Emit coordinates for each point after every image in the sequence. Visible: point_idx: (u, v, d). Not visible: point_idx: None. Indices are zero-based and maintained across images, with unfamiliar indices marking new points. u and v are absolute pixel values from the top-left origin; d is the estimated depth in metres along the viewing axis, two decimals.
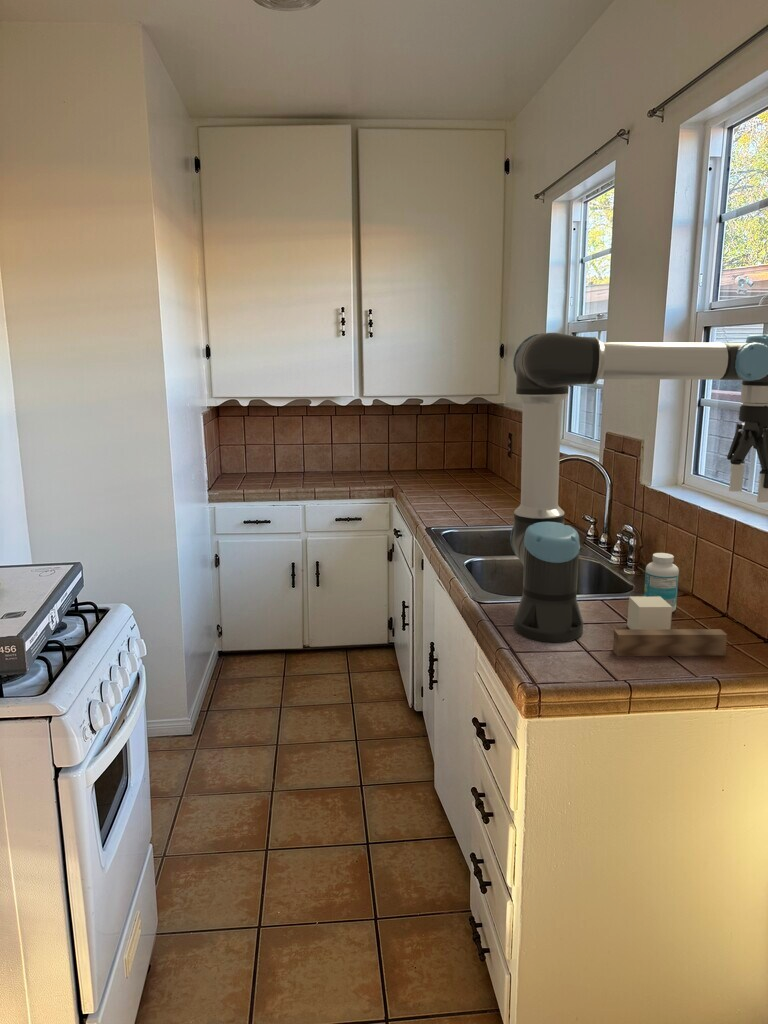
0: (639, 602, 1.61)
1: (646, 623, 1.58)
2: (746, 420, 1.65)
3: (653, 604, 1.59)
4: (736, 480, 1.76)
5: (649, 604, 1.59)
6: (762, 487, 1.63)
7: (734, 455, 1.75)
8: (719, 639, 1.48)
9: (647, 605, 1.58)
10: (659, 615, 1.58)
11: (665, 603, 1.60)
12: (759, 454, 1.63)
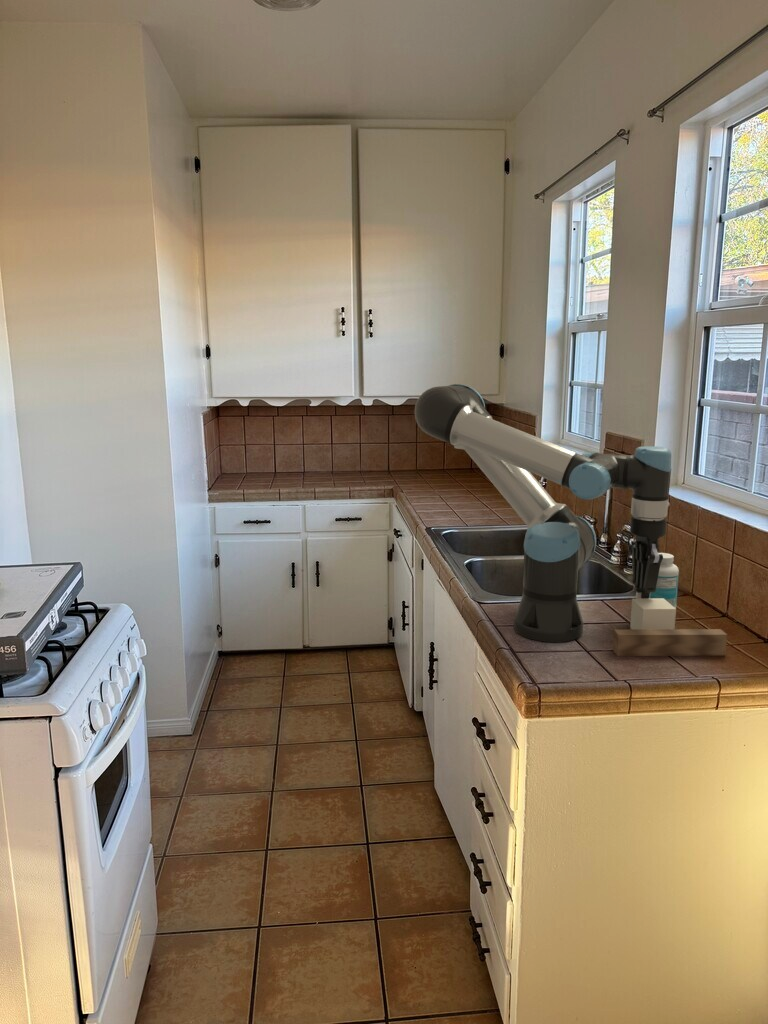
0: (643, 604, 1.59)
1: (649, 625, 1.57)
2: (635, 534, 1.60)
3: (657, 606, 1.57)
4: None
5: (652, 606, 1.58)
6: None
7: (636, 577, 1.66)
8: (719, 639, 1.48)
9: (650, 607, 1.57)
10: (663, 617, 1.56)
11: (669, 605, 1.58)
12: (641, 571, 1.63)
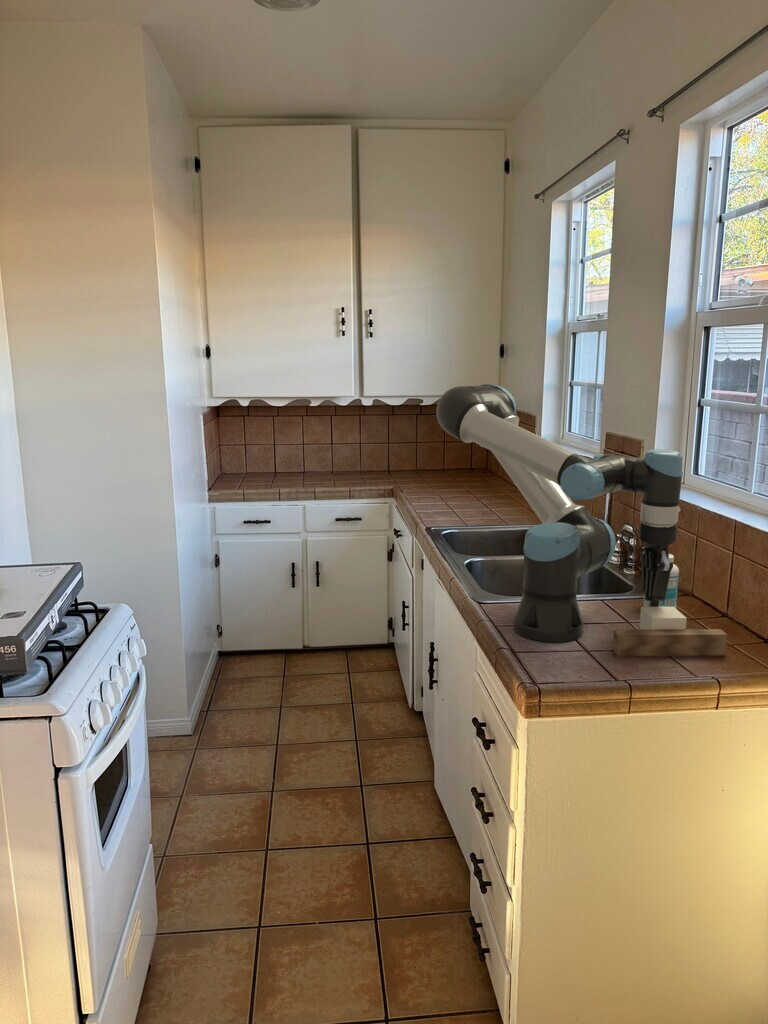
0: (652, 612, 1.54)
1: None
2: (644, 540, 1.55)
3: (667, 615, 1.52)
4: None
5: (662, 614, 1.52)
6: None
7: (646, 585, 1.60)
8: (719, 639, 1.48)
9: (660, 616, 1.52)
10: (673, 626, 1.51)
11: (679, 614, 1.53)
12: (651, 579, 1.57)
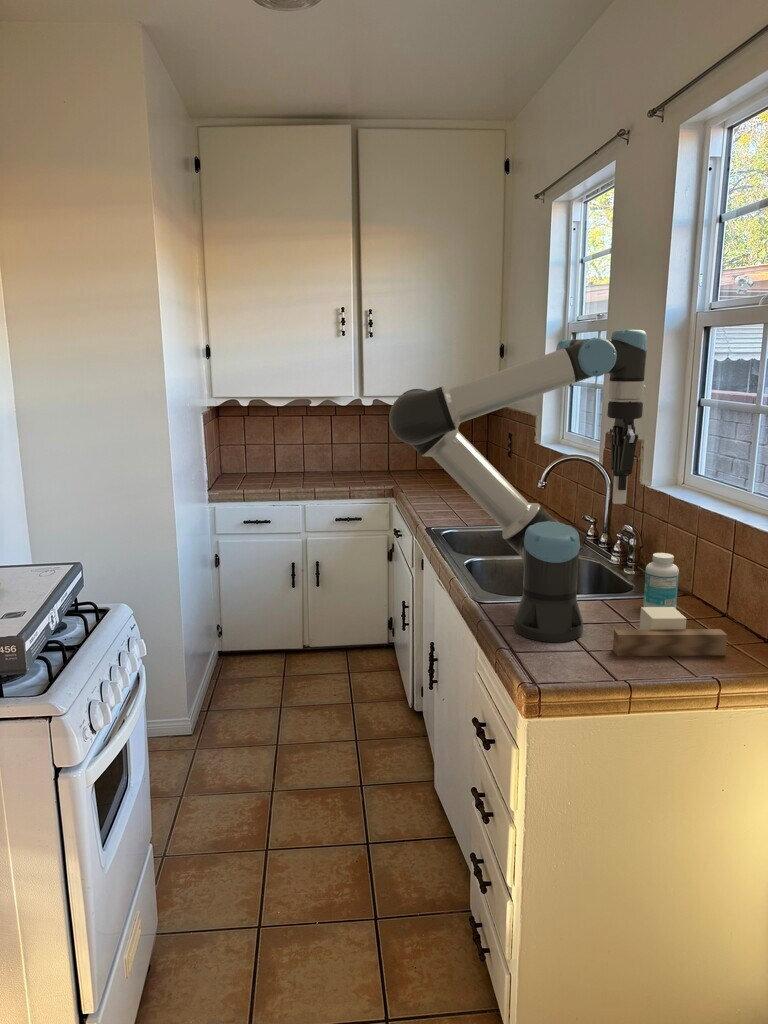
0: (652, 613, 1.54)
1: None
2: (612, 416, 1.64)
3: (666, 615, 1.52)
4: None
5: (662, 615, 1.52)
6: (617, 489, 1.68)
7: (614, 463, 1.69)
8: (719, 639, 1.48)
9: (660, 616, 1.52)
10: (673, 627, 1.51)
11: (679, 614, 1.53)
12: (618, 454, 1.66)
